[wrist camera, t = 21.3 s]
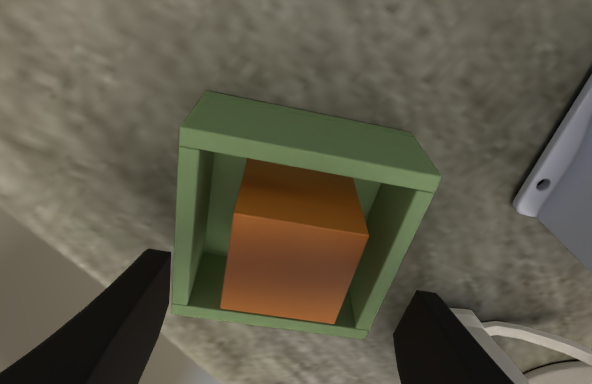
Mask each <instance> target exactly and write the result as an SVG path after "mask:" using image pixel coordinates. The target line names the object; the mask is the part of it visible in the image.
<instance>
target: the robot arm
mask: <svg viewBox="0 0 592 384" xmlns="http://www.w3.org/2000/svg"><path fill="white" fill-rule="evenodd" d="M543 179H544V181H543V182H542V183H541V184H540V185H537V184H538V183H539V181H541V180H543ZM513 207H514V208H515V210H516V211H517V212H518V213H519V214H522V215H525V216H531V217H536V218H537V219H538V220H539V221H540V222H541V223H542V224H543V225H544V226H545V227H546V228H547V229H548V230H549V231H550V232H551V233H552V234H553V235H554V236H555V237H556V238H557V239H558V240H559V241H560V242H561V243H562V244H563V245H564V246H565V247H566V248H567V249H568V250H569V251H570V252H571V253H572V254H573V255H574V256H575V258H576V259H577V260H578V261H579V262H580V263H581V264H582V265H583V266H584V267H585V268H586V269H587V270H588V271H589V272H590V273H591V274H592V74H591V76H590V77H589V79H588V81H587V82H586V84H585V85H584V87H583V89H582V90H581V92H580V94H579V95H578V97H577V98H576V100H575V102H574V103H573V105H572V106H571V108H570V110H569V111H568V113H567V115H566V116H565V118H564V119H563V121H562V123H561V124H560V126H559V127H558V129H557V131H556V132H555V134H554V136H553V137H552V139H551V140H550V142H549V144H548V145H547V147H546V148H545V150H544V152H543V153H542V155H541V157H540V158H539V160H538V161H537V163H536V165H535V166H534V168H533V170H532V171H531V173H530V174H529V176H528V178H527V179H526V181H525V182H524V184H523V186H522V187H521V189H520V191H519V192H518V194H517V195H516V197H515V199H514V201H513ZM170 266H171V252H167V251H160V250H154V249H147V250H146V251H144V252H143V253H142V254H141V255H140V256H139V257H138V258H137V259H136V260H135V261H134V263H133V264H132V265H131V266H130V267H129V268H128V269H127V270H125V271H124V272H123V273H122V274H121V275H120V276H119V277H118V278H117V279H116V280H115V281H114V282H113V283H112V284H111V285H110V286H109V287H108V288H106V289H105V290H104V291H103V292H102V293H101V294H100V295H99V296H98V297H96V298H95V299H94V300H93V301H92V302H91V303H90V304H89V305H88V306H87V307H85V308H84V309H83V310H82V311H81V312H79V313H78V314H77V315H76V316H74V317H73V318H72V319H71V320H70V321H68V322H67V323H66V324H65V325H63V326H62V327H61V328H60V329H59V330H57V331H56V332H55V333H54V334H53V335H51V336H50V337H49V338H47V339H46V340H45V341H44V342H42V343H41V344H40V345H38V346H37V347H36V348H34V349H33V350H32V351H30V352H29V353H28V354H26V355H25V356H23V357H22V358H21V359H19V360H18V361H16V362H15V363H14V364H12V365H11V366H9V367H8V368H7V369H5V370H4V371H2V372H1V373H0V384H138V382H139V380H140V378H141V376H142V373H143V371H144V369H145V366H146V364H147V362H148V360H149V357H150V355H151V353H152V350H153V348H154V346H155V344H156V341H157V339H158V336H159V333H160V330H161V327H162V324H163V321H164V318H165V314H166V311H167V308H168V305H169V292H170ZM393 338H394V346H395V354H396V361H397V368H398V372H399V376H400V380H401V384H515V383H514V382H513V381H512V380H511V379H510V378H509V377H508V376H507V375H506V374H505V373H504V371H503V370H502V369H501V368H500V367H499V366H498V365H497V364H496V363H495V361H494V360H493V359H492V358H491V357H490V356H489V355H488V353H487V352H486V351H485V350H484V349H483V348H482V346H481V345H480V344H479V343H478V342H477V341H476V339H475V338H474V337H473V336H472V335H471V334H470V332H469V331H468V330H467V329H466V328H465V326H464V325H463V324H462V323H461V322H460V320H459V319H458V318H457V317H456V316H455V314H454V313H453V312H452V311H451V310H450V309H449V307H448V306H447V305H446V304H445V303H444V302H443V300H442V299H441V298H440V297H439V296H438V295H437V294H436V293H432V292H425V291H419V290H417V291H416V292H415V294H414V296H413V298H412V300H411V302H410V304H409V305H408V307H407V309H406V311H405V313H404V315H403V317H402V318H401V320H400V322H399V324H398V326H397V328H396V330H395V331H394V333H393Z"/></svg>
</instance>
